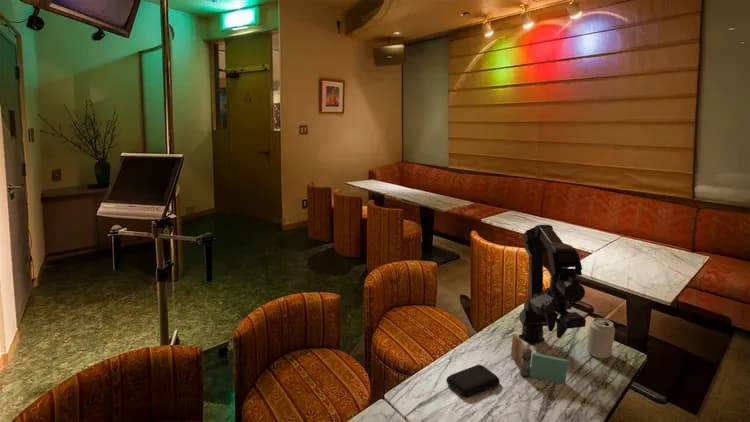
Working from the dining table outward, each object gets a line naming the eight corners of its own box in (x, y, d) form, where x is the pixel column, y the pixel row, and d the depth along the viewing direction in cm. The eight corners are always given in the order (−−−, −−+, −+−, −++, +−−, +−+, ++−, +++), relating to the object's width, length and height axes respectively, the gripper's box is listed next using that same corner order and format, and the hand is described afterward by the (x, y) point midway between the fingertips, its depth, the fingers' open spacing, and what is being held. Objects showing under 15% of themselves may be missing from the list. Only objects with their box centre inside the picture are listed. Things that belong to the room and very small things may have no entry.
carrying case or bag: (466, 404, 125) (504, 388, 132) (467, 394, 124) (505, 379, 132) (443, 383, 134) (480, 369, 141) (443, 374, 133) (480, 361, 140)
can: (613, 361, 145) (619, 328, 142) (589, 358, 147) (594, 326, 144) (607, 349, 152) (611, 317, 149) (583, 346, 154) (588, 315, 151)
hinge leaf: (520, 375, 137) (522, 353, 135) (520, 371, 139) (522, 349, 137) (565, 385, 132) (568, 363, 130) (565, 380, 135) (567, 358, 133)
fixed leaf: (530, 377, 137) (533, 352, 134) (522, 377, 136) (524, 353, 134) (516, 355, 148) (518, 332, 146) (508, 355, 148) (510, 332, 146)
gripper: (519, 278, 140) (515, 322, 144) (555, 303, 122) (549, 354, 126) (550, 275, 142) (545, 319, 146) (590, 300, 125) (583, 349, 128)
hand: (554, 334), depth 136 cm, fingers open, 4 cm apart
